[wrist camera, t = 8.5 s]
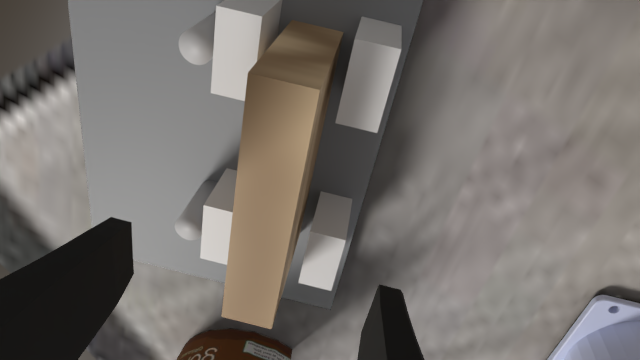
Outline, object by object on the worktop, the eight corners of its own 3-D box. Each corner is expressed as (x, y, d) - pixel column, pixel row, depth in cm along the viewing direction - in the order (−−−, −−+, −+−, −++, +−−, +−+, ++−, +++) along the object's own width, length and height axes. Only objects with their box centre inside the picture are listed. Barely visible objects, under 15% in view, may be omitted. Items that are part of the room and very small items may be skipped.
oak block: (343, 31, 18) (320, 90, 12) (300, 232, 23) (271, 329, 18) (292, 19, 18) (247, 72, 13) (260, 223, 23) (221, 316, 18)
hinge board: (454, -114, 15) (468, -115, 12) (333, 296, 26) (322, 355, 23) (64, -203, 16) (-27, -227, 12) (104, 239, 27) (61, 289, 23)
